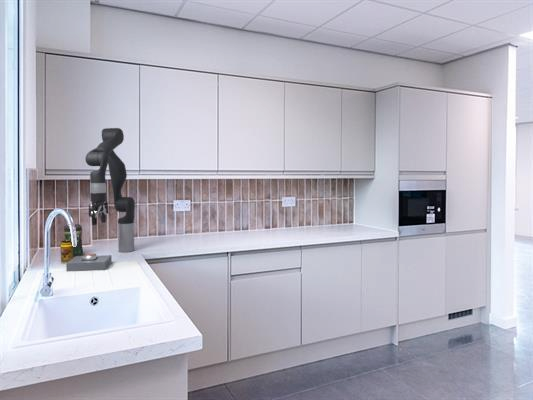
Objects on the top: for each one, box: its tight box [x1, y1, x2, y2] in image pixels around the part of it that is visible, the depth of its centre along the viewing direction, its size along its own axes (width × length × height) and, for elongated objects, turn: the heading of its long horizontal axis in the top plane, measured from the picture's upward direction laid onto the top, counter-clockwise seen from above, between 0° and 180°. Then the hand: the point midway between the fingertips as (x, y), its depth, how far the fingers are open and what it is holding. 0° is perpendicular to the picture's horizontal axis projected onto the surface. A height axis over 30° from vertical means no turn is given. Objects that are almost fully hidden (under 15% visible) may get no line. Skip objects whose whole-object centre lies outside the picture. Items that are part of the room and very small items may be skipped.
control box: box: [65, 254, 112, 272], centre depth 205 cm, size 16×18×4 cm
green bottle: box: [63, 223, 84, 258], centre depth 227 cm, size 10×8×19 cm
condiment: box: [58, 239, 73, 264], centre depth 215 cm, size 7×8×12 cm
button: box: [83, 252, 97, 261], centre depth 205 cm, size 6×6×4 cm
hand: (99, 223), depth 202 cm, fingers open, 8 cm apart
